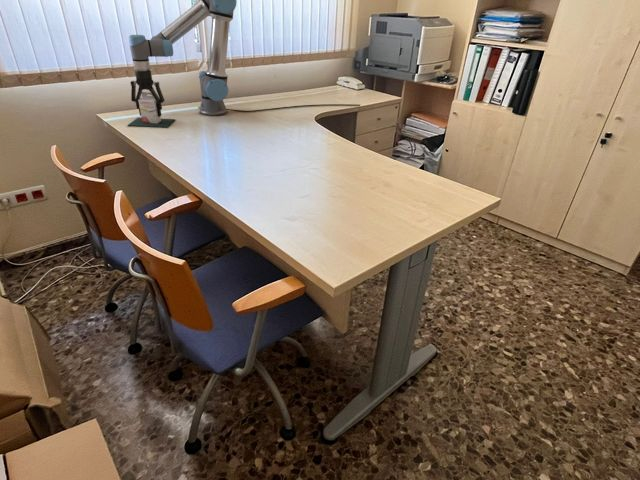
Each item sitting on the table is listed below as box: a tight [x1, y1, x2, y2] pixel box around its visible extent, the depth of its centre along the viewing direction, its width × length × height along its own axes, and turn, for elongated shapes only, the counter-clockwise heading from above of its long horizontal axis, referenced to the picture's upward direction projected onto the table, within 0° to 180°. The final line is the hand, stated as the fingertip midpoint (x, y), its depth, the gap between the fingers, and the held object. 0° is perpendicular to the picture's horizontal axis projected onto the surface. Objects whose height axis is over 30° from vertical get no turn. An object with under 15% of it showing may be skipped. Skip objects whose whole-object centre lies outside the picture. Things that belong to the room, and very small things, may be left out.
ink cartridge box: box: [138, 91, 162, 124], centre depth 206 cm, size 9×5×15 cm, turn 84°
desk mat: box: [127, 117, 176, 129], centre depth 210 cm, size 20×14×1 cm
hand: (150, 115), depth 208 cm, fingers closed on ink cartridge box, 9 cm apart
